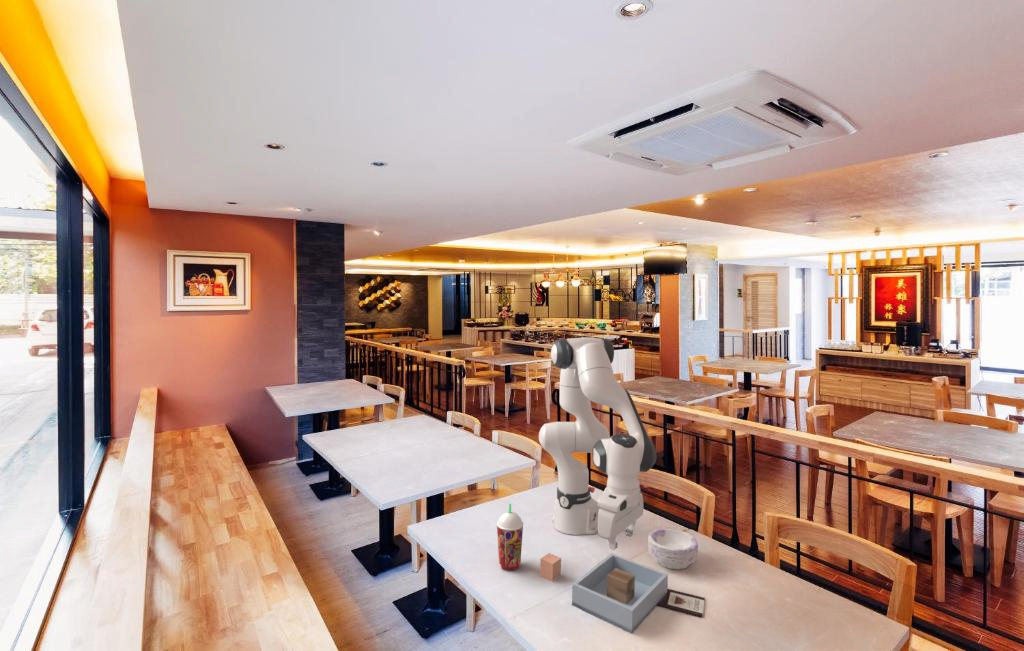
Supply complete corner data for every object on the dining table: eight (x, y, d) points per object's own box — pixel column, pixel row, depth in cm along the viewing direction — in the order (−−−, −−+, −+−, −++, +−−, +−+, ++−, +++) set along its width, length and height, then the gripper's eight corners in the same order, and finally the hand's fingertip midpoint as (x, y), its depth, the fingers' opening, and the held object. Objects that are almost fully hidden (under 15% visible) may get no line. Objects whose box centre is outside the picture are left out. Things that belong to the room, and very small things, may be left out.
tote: (611, 571, 155) (611, 553, 155) (667, 594, 144) (667, 574, 143) (571, 605, 138) (572, 584, 138) (631, 633, 127) (632, 610, 126)
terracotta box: (548, 570, 156) (549, 553, 156) (560, 575, 153) (561, 557, 153) (540, 576, 153) (540, 558, 152) (552, 581, 150) (552, 563, 149)
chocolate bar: (640, 581, 149) (704, 597, 141) (639, 584, 149) (704, 601, 142) (633, 598, 141) (702, 616, 133) (633, 601, 141) (702, 619, 133)
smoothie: (520, 574, 153) (520, 510, 152) (493, 571, 155) (494, 508, 154) (525, 560, 161) (525, 499, 160) (499, 557, 163) (500, 497, 162)
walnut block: (615, 588, 145) (615, 568, 144) (634, 596, 141) (634, 575, 141) (606, 595, 141) (607, 575, 141) (626, 604, 137) (626, 583, 137)
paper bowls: (653, 546, 171) (654, 523, 171) (700, 557, 164) (701, 533, 164) (642, 567, 158) (643, 542, 158) (693, 580, 151) (694, 554, 150)
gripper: (629, 480, 149) (628, 524, 150) (594, 502, 134) (593, 552, 135) (649, 485, 145) (648, 531, 146) (615, 509, 129) (614, 560, 131)
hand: (621, 541), depth 140 cm, fingers open, 8 cm apart
